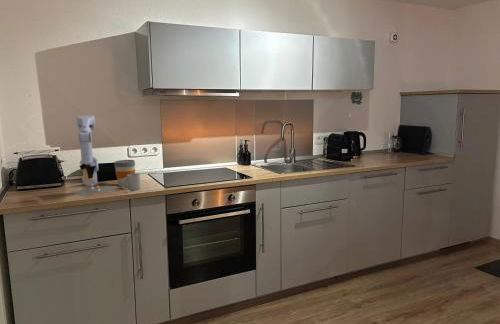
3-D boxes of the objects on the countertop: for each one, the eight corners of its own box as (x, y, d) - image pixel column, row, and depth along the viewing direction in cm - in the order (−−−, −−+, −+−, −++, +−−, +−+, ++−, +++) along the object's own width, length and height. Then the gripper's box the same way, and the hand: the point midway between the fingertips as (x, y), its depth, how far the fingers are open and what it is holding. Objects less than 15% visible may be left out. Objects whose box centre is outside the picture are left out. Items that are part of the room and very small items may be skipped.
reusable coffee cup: (139, 184, 233) (138, 161, 231) (120, 187, 225) (118, 163, 223) (131, 181, 243) (130, 159, 240) (112, 184, 234) (110, 161, 232)
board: (70, 194, 210) (69, 186, 209) (107, 187, 226) (106, 180, 225) (80, 198, 201) (80, 190, 200) (118, 190, 216) (118, 183, 216)
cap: (82, 179, 209) (81, 169, 208) (91, 178, 212) (90, 167, 211) (86, 180, 205) (85, 170, 204) (94, 179, 209) (94, 168, 208)
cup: (141, 189, 218) (140, 175, 217) (123, 191, 214) (122, 176, 213) (140, 187, 225) (139, 173, 223) (123, 189, 221) (121, 174, 220)
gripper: (74, 153, 208) (76, 177, 211) (84, 155, 199) (86, 180, 201) (86, 152, 214) (88, 175, 216) (97, 154, 204) (99, 178, 206)
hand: (88, 177), depth 208 cm, fingers closed on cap, 5 cm apart
